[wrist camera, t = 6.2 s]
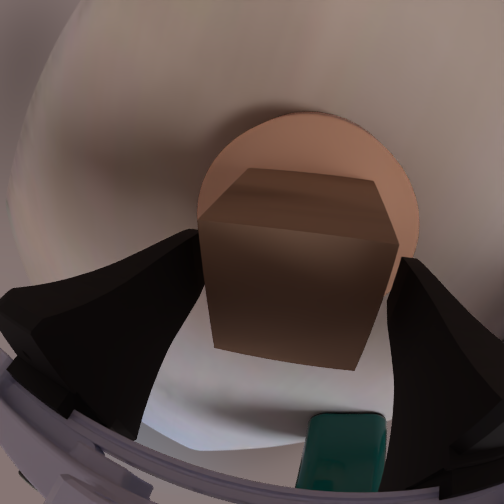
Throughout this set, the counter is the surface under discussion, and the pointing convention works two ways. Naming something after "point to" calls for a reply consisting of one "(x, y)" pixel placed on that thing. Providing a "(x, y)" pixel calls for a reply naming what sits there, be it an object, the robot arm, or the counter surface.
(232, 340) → the walnut cube
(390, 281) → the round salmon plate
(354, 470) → the green plastic tall container
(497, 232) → the counter surface
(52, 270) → the counter surface
